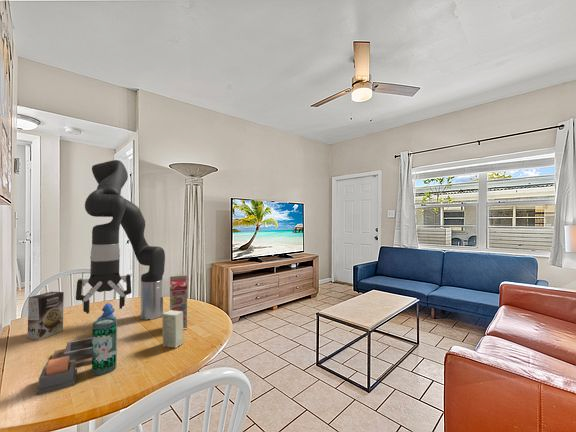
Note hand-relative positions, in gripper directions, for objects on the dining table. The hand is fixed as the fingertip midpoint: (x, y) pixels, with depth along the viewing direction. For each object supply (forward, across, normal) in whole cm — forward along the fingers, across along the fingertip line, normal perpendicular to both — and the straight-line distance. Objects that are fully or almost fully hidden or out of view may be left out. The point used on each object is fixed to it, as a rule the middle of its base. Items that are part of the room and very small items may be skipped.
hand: (104, 310), depth 85 cm
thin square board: (+18, +6, -13) cm, 23 cm away
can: (+18, 0, 0) cm, 19 cm away
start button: (+15, +11, +1) cm, 19 cm away
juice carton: (+18, -26, -22) cm, 39 cm away
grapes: (+18, 0, -30) cm, 35 cm away
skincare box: (+18, -21, -6) cm, 29 cm away
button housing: (+18, +11, +1) cm, 21 cm away
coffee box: (+18, +20, -42) cm, 50 cm away
